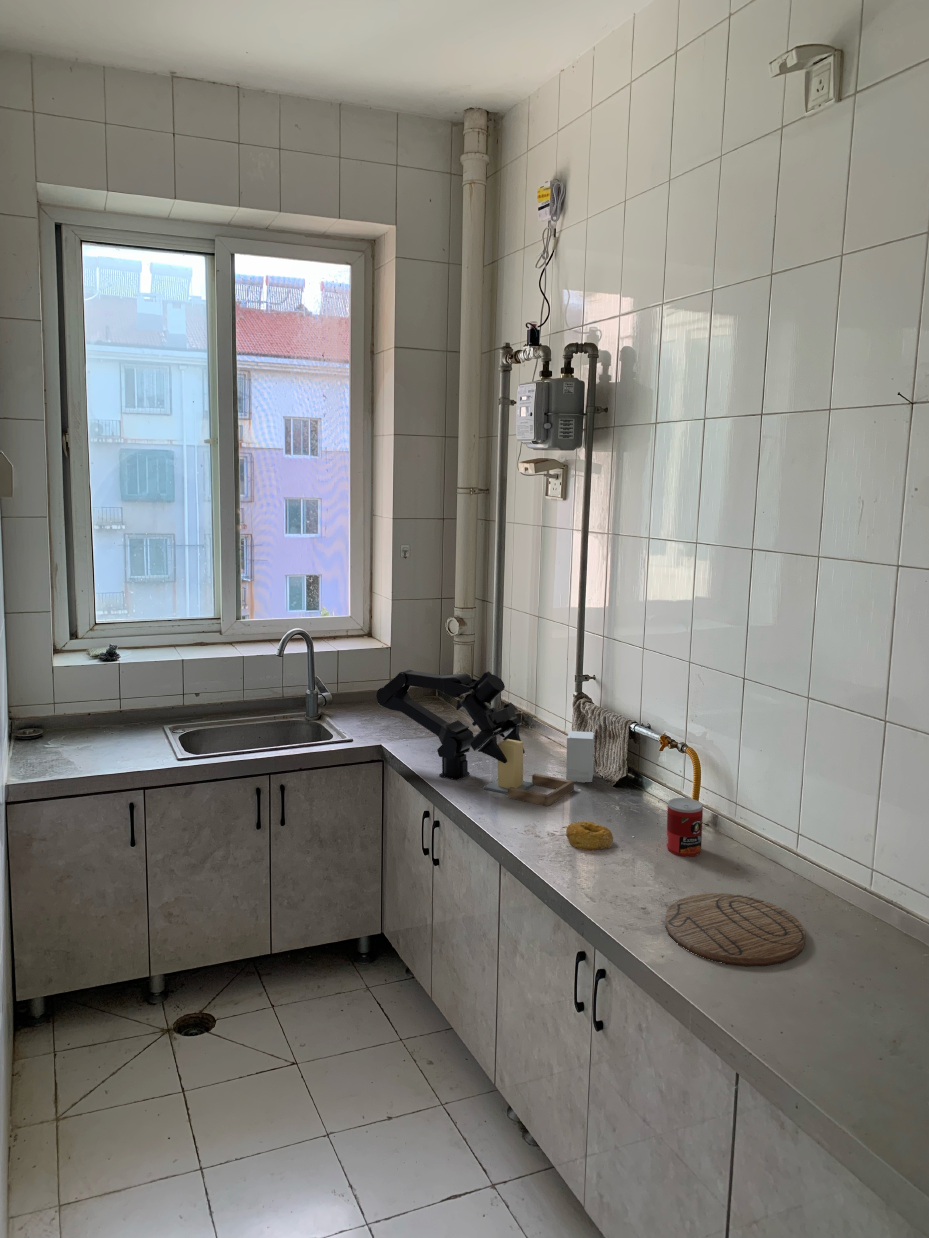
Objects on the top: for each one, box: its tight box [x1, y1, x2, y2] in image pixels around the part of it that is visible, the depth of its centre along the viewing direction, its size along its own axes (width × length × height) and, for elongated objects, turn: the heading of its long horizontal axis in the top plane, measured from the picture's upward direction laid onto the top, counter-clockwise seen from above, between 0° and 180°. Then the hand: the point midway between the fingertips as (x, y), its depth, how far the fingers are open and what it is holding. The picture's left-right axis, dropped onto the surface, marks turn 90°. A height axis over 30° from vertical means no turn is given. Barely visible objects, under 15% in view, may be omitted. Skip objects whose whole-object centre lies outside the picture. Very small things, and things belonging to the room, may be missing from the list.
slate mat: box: [483, 778, 535, 795], centre depth 251 cm, size 10×10×1 cm
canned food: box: [666, 797, 704, 857], centre depth 208 cm, size 8×8×11 cm
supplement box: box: [565, 730, 595, 783], centre depth 257 cm, size 7×7×13 cm
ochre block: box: [497, 739, 524, 788], centre depth 250 cm, size 5×5×12 cm
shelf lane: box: [507, 773, 575, 807], centre depth 245 cm, size 12×14×2 cm
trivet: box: [664, 892, 806, 967], centre depth 172 cm, size 25×25×2 cm
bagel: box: [565, 820, 614, 851], centre depth 213 cm, size 10×11×5 cm
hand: (515, 757), depth 249 cm, fingers open, 9 cm apart
